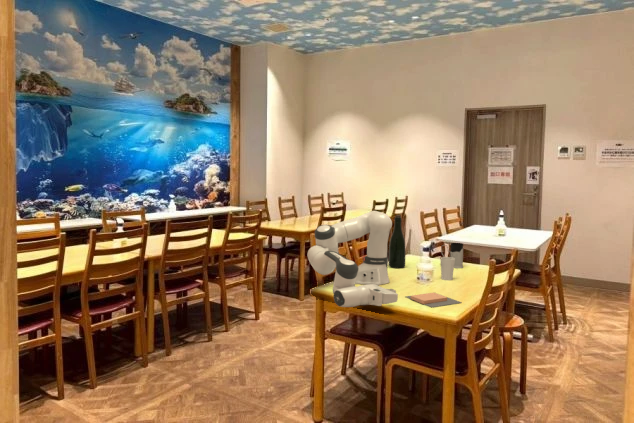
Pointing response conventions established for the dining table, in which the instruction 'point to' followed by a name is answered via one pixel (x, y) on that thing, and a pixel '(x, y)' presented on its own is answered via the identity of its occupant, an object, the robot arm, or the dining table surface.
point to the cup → (447, 268)
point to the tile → (428, 298)
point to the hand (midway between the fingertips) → (394, 291)
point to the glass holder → (456, 254)
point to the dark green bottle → (397, 246)
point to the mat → (443, 303)
